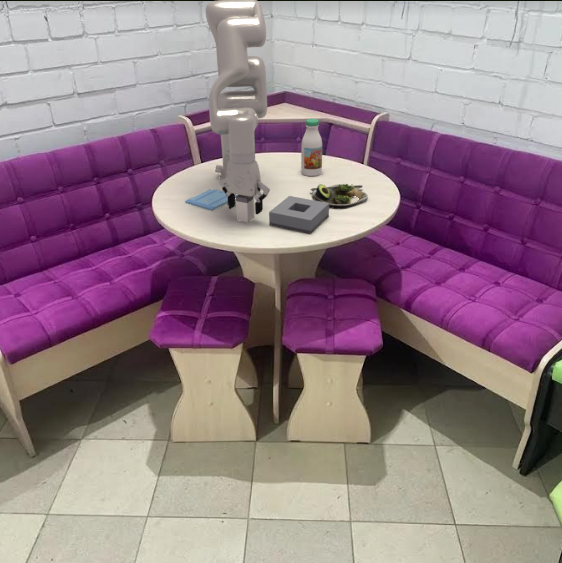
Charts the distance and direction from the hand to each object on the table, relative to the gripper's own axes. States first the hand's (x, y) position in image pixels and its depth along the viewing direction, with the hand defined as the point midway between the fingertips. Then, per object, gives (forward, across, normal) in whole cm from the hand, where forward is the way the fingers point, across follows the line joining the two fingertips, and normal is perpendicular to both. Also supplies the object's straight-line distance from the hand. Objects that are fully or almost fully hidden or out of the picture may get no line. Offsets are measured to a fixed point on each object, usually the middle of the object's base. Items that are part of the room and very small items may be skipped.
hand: (245, 210), depth 177 cm
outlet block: (+3, +16, +6) cm, 17 cm away
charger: (+3, 0, 0) cm, 3 cm away
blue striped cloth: (+4, -18, +8) cm, 20 cm away
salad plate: (+4, +20, +28) cm, 35 cm away
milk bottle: (+3, +2, +46) cm, 46 cm away
